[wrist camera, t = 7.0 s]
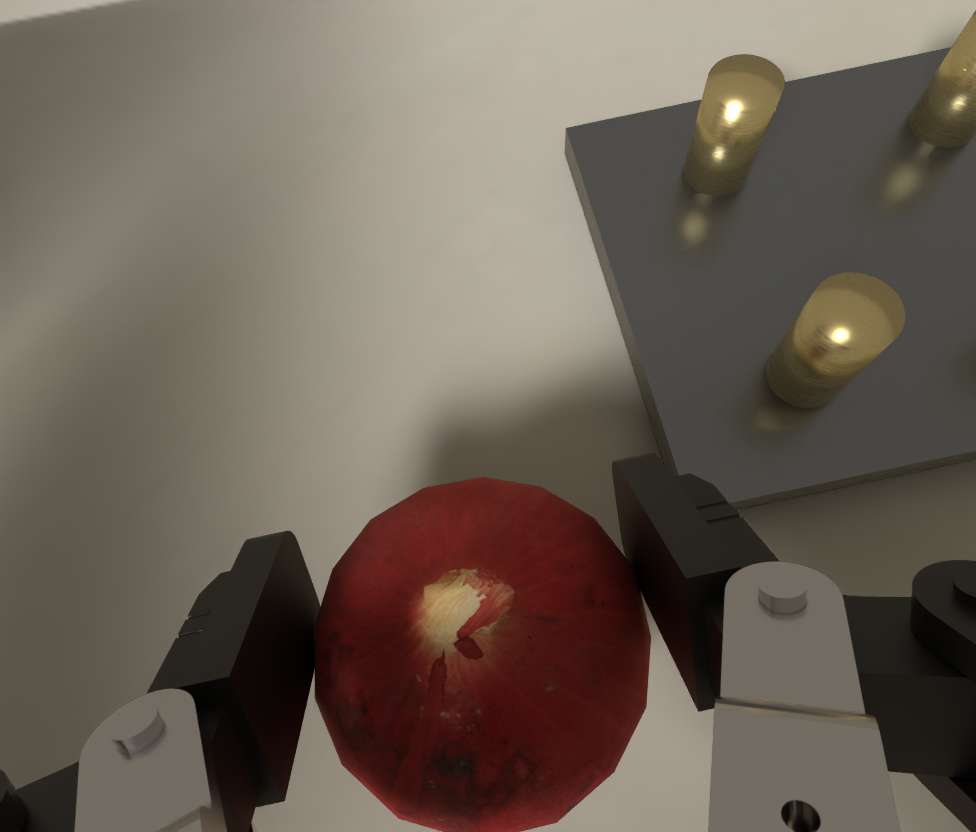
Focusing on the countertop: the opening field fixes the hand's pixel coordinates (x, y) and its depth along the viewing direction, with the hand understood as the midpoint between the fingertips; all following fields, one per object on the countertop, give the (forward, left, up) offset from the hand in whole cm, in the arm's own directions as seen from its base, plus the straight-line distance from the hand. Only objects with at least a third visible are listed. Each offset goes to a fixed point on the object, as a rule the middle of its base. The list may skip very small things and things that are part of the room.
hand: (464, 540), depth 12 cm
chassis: (+12, +6, -4) cm, 14 cm away
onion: (0, -2, -5) cm, 5 cm away
